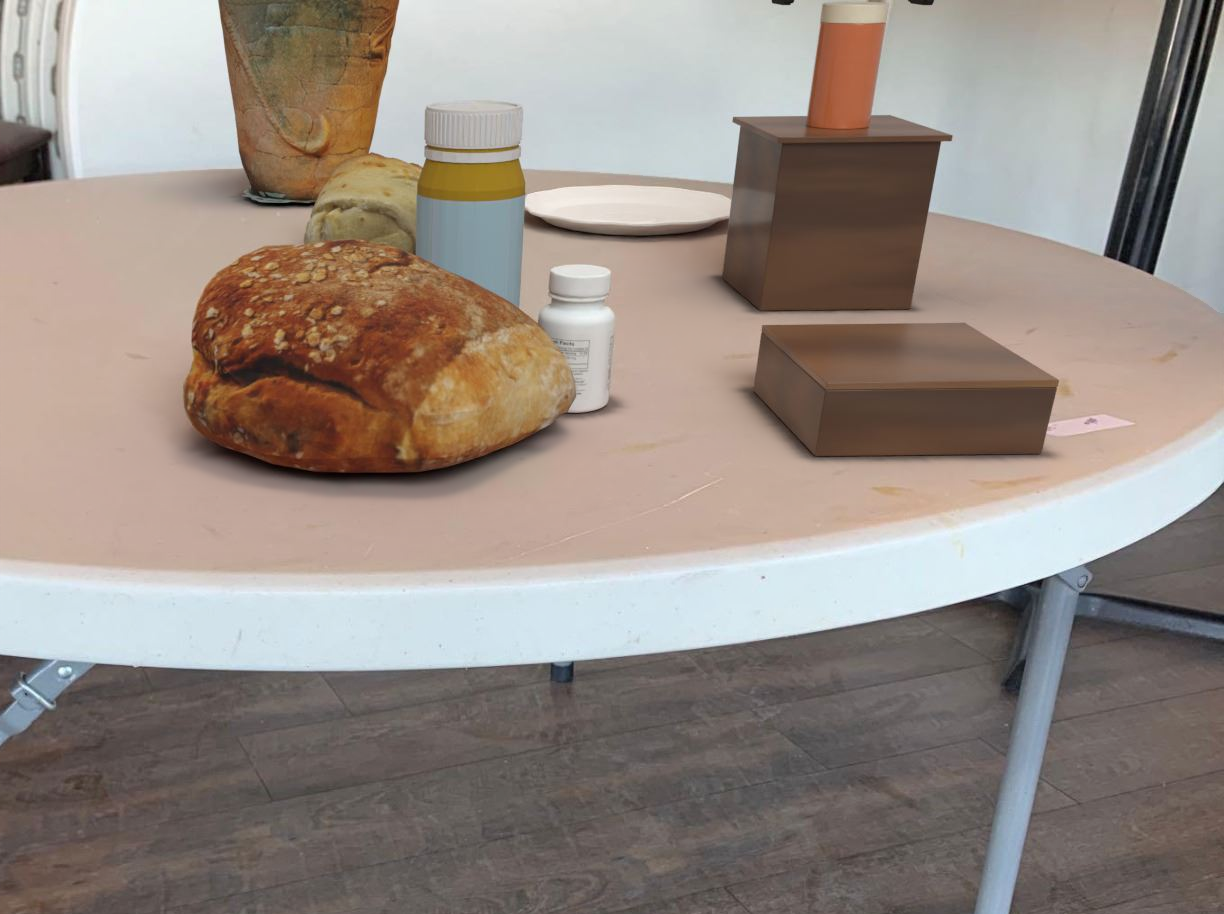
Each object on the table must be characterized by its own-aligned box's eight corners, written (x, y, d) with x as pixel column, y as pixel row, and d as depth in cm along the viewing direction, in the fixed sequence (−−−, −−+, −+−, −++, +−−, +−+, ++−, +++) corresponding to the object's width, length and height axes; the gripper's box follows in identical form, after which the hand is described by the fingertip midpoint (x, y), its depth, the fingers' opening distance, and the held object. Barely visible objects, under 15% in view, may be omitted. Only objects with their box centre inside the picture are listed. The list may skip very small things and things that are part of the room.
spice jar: (881, 125, 101) (901, 2, 97) (846, 130, 99) (866, 5, 95) (828, 120, 104) (845, 1, 100) (793, 125, 102) (809, 3, 98)
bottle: (475, 361, 91) (485, 114, 84) (393, 343, 95) (395, 106, 88) (537, 340, 96) (551, 104, 88) (456, 324, 100) (463, 97, 93)
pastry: (409, 233, 130) (411, 141, 126) (479, 257, 120) (483, 159, 116) (270, 247, 125) (267, 152, 121) (330, 274, 115) (330, 171, 111)
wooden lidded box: (1041, 454, 74) (1059, 379, 72) (814, 456, 74) (826, 382, 72) (951, 388, 85) (965, 322, 83) (752, 390, 85) (761, 324, 83)
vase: (438, 208, 141) (448, -135, 127) (240, 218, 137) (228, -135, 123) (386, 177, 159) (389, -127, 145) (210, 185, 156) (195, -126, 142)
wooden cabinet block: (920, 310, 102) (953, 135, 96) (754, 312, 102) (778, 137, 96) (863, 274, 112) (890, 114, 107) (713, 276, 112) (732, 116, 107)
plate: (784, 221, 133) (787, 203, 132) (645, 251, 121) (647, 231, 121) (612, 194, 147) (614, 178, 146) (472, 219, 135) (473, 201, 135)
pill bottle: (573, 388, 86) (583, 258, 82) (623, 405, 82) (636, 271, 79) (517, 400, 84) (525, 267, 80) (567, 418, 80) (577, 281, 77)
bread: (350, 366, 90) (350, 205, 86) (612, 412, 81) (628, 235, 76) (140, 453, 76) (125, 264, 71) (430, 522, 66) (436, 310, 62)
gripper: (781, -300, 86) (741, 7, 95) (1060, -300, 87) (997, 7, 95) (748, -285, 93) (714, 1, 101) (1008, -284, 93) (953, 1, 101)
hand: (851, 4), depth 98 cm, fingers open, 9 cm apart
